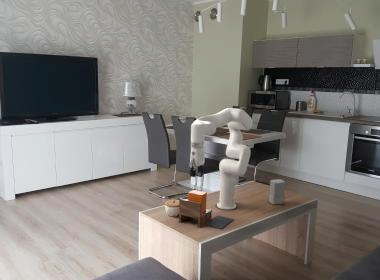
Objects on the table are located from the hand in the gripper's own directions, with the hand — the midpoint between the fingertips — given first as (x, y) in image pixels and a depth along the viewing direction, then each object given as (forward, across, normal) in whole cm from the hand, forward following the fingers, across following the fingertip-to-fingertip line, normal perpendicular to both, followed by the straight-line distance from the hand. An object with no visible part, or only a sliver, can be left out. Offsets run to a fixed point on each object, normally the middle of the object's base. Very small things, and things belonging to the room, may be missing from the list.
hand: (196, 174), depth 205 cm
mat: (+29, +8, -12) cm, 32 cm away
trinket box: (+29, +5, +17) cm, 34 cm away
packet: (+23, +4, +1) cm, 23 cm away
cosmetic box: (+29, +58, -33) cm, 73 cm away
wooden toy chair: (+29, +3, +1) cm, 29 cm away
